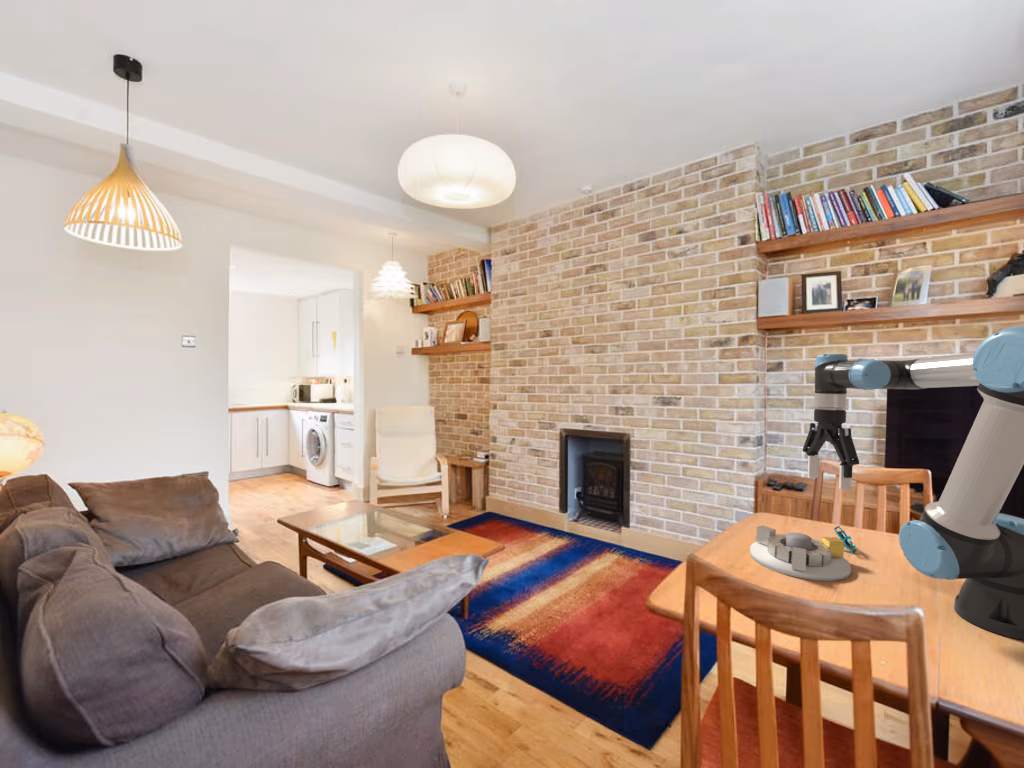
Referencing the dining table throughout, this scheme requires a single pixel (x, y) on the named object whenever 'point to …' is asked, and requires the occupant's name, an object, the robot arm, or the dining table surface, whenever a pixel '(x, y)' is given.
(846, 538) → the stick construction toy
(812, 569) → the white shallow round piece
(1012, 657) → the dining table surface
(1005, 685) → the dining table surface
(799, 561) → the grey segmented ring
